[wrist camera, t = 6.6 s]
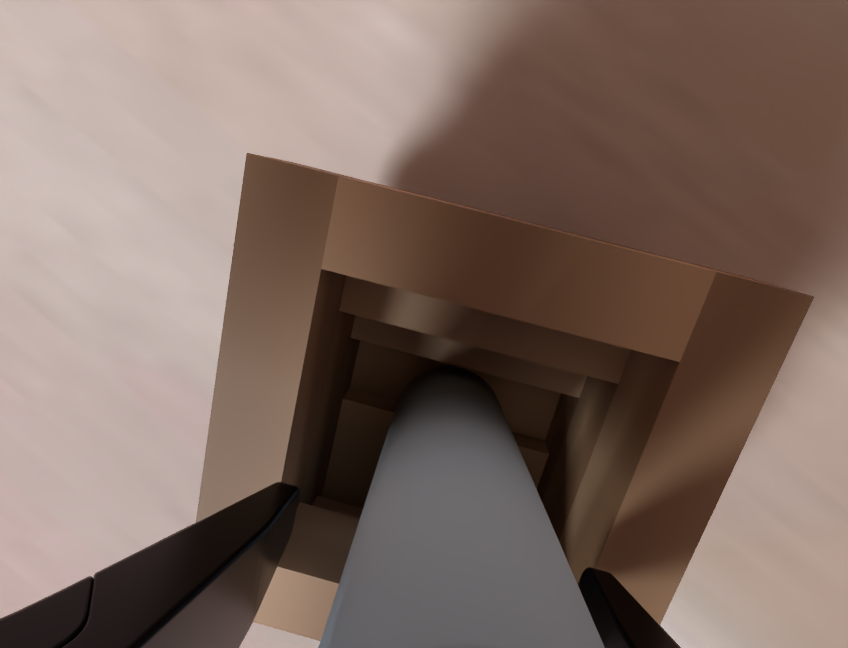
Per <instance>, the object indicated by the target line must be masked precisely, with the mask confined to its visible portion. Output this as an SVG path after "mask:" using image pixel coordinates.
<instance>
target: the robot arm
mask: <svg viewBox="0 0 848 648" xmlns="http://www.w3.org/2000/svg"><path fill="white" fill-rule="evenodd" d="M299 496H300V490H299V488H298V487H297V486H293V485H290V484H286V483H283V482H276V483H274V484H272V485H270V486H268V487H266V488H264V489H262V490H260V491H258V492H256V493H254V494H252V495H250V496H248V497H246V498H244V499H242V500H240V501H238V502H236V503H234V504H232V505H230V506H228V507H226V508H224V509H222V510H220V511H218V512H216V513H214V514H212V515H210V516H208V517H206V518H204V519H202V520H200V521H198V522H196V523H194V524H192V525H190V526H188V527H186V528H184V529H182V530H180V531H178V532H176V533H174V534H172V535H170V536H168V537H166V538H164V539H162V540H160V541H159V542H157V543H155V544H153V545H151V546H149V547H147V548H145V549H143V550H141V551H139V552H137V553H135V554H133V555H131V556H129V557H127V558H125V559H123V560H121V561H119V562H117V563H115V564H113V565H111V566H109V567H107V568H105V569H103V570H101V571H99V572H97V573H95V574H94V577H91V576H89V577H87V578H85V579H83V580H81V581H79V582H77V583H75V584H73V585H71V586H69V587H67V588H65V589H63V590H61V591H59V592H56V593H54V594H52V595H50V596H48V597H46V598H44V599H42V600H40V601H38V602H36V603H33V604H31V605H29V606H27V607H25V608H23V609H21V610H19V611H17V612H14V613H12V614H10V615H7V616H5V617H3V618H1V619H0V648H239V646H240V645H241V643H242V641H243V639H244V638H245V636H246V634H247V632H248V630H249V628H250V626H251V624H252V623H253V620H254V618H255V616H256V614H257V612H258V610H259V608H260V605H261V603H262V601H263V598H264V596H265V594H266V591H267V589H268V587H269V585H270V582H271V580H272V578H273V575H274V573H275V571H276V569H277V566H278V564H279V562H280V559H281V557H282V555H283V552H284V550H285V548H286V546H287V543H288V541H289V539H290V536H291V533H292V529H293V526H294V521H295V516H296V511H297V506H298V501H299ZM578 587H579V589H580V591H581V594H582V596H583V598H584V601H585V603H586V605H587V608H588V610H589V612H590V615H591V617H592V619H593V622H594V624H595V626H596V628H597V631H598V633H599V635H600V638H601V640H602V642H603V645H604V647H605V648H681V647H680V646H679V645H678V644H677V643H676V642H675V641H674V640H673V639H672V638H671V637H670V636H669V635H668V634H667V632H666V631H665V630H664V629H663V628H662V627H661V626H660V625H659V624H658V623H657V622H656V621H655V620H654V619H653V617H652V616H651V615H650V614H649V613H648V612H647V611H646V610H645V609H644V608H643V607H642V606H641V605H640V604H639V603H638V601H637V600H636V599H635V598H634V597H633V596H632V595H631V594H630V593H629V592H628V591H627V590H626V589H625V588H624V586H623V585H622V584H621V583H620V582H619V581H618V580H617V579H616V578H615V577H614V576H613V575H612V574H611V573H609V572H606V571H603V570H599V569H595V568H592V567H588V568H586V569H585V570H584V571H583V573H582V575H581V578H580V580H579V583H578Z"/></svg>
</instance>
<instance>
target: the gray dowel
mask: <svg viewBox="0 0 848 648" xmlns="http://www.w3.org/2000/svg"><path fill="white" fill-rule="evenodd" d="M319 648H605V647H604V645H603V642H602V640H601V638H600V635H599V633H598V631H597V628H596V626H595V624H594V622H593V619H592V617H591V615H590V612H589V610H588V608H587V605H586V603H585V601H584V598H583V596H582V594H581V591H580V589H579V587H578V584H577V582H576V580H575V577H574V575H573V573H572V570H571V568H570V566H569V564H568V561H567V559H566V557H565V554H564V552H563V550H562V547H561V545H560V543H559V540H558V538H557V536H556V533H555V531H554V529H553V526H552V524H551V522H550V519H549V517H548V515H547V512H546V510H545V508H544V506H543V503H542V501H541V499H540V496H539V494H538V492H537V489H536V487H535V485H534V482H533V480H532V478H531V475H530V473H529V471H528V468H527V466H526V464H525V461H524V459H523V457H522V454H521V452H520V450H519V448H518V445H517V443H516V441H515V438H514V436H513V434H512V431H511V429H510V427H509V424H508V422H507V420H506V417H505V415H504V413H503V410H502V408H501V406H500V403H499V401H498V399H497V397H496V395H495V393H494V391H493V390H492V389H491V387H490V386H489V385H488V384H487V383H486V382H485V381H484V380H483V379H482V378H480V377H479V376H477V375H476V374H474V373H472V372H470V371H468V370H465V369H461V368H456V367H440V368H435V369H431V370H428V371H426V372H424V373H422V374H420V375H418V376H417V377H415V378H414V379H413V380H412V381H411V382H410V383H409V384H408V385H407V386H406V387H405V389H404V390H403V392H402V393H401V395H400V397H399V399H398V402H397V405H396V408H395V411H394V414H393V417H392V420H391V424H390V427H389V430H388V433H387V436H386V439H385V442H384V445H383V449H382V452H381V455H380V458H379V461H378V464H377V467H376V470H375V473H374V477H373V480H372V483H371V486H370V489H369V492H368V495H367V498H366V501H365V505H364V508H363V511H362V514H361V517H360V520H359V523H358V526H357V530H356V533H355V536H354V539H353V542H352V545H351V548H350V551H349V554H348V558H347V561H346V564H345V567H344V570H343V573H342V576H341V579H340V583H339V586H338V589H337V592H336V595H335V598H334V601H333V604H332V607H331V611H330V614H329V617H328V620H327V623H326V626H325V629H324V632H323V635H322V639H321V642H320V645H319Z"/></svg>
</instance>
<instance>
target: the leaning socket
mask: <svg viewBox="0 0 848 648" xmlns="http://www.w3.org/2000/svg"><path fill="white" fill-rule="evenodd" d="M813 298H814V297H813V296H809V295H806V294H802V293H799V292H795V291H792V290H788V289H785V288H781V287H778V286H774V285H771V284H767V283H764V282H760V281H757V280H753V279H750V278H746V277H742V276H738V275H735V274H731V273H727V272H723V271H719V270H715V269H711V268H707V267H703V266H699V265H695V264H691V263H687V262H683V261H679V260H675V259H671V258H668V257H664V256H660V255H656V254H652V253H648V252H644V251H640V250H636V249H632V248H628V247H624V246H620V245H616V244H612V243H608V242H604V241H600V240H597V239H593V238H589V237H585V236H581V235H577V234H573V233H569V232H565V231H561V230H557V229H553V228H549V227H545V226H541V225H537V224H533V223H530V222H526V221H522V220H518V219H514V218H510V217H506V216H502V215H498V214H494V213H490V212H486V211H482V210H478V209H474V208H470V207H466V206H462V205H459V204H455V203H451V202H447V201H443V200H439V199H435V198H431V197H427V196H423V195H419V194H415V193H411V192H407V191H403V190H399V189H395V188H392V187H388V186H384V185H380V184H376V183H372V182H368V181H364V180H360V179H356V178H352V177H348V176H344V175H340V174H336V173H332V172H328V171H324V170H321V169H317V168H313V167H309V166H305V165H301V164H297V163H293V162H288V161H283V160H279V159H274V158H269V157H264V156H259V155H254V154H249V153H247V155H246V163H245V170H244V177H243V184H242V192H241V199H240V206H239V213H238V221H237V228H236V235H235V242H234V250H233V257H232V264H231V272H230V279H229V286H228V293H227V301H226V308H225V315H224V322H223V330H222V337H221V344H220V351H219V359H218V366H217V373H216V380H215V388H214V395H213V402H212V410H211V417H210V424H209V431H208V439H207V446H206V453H205V460H204V468H203V475H202V482H201V489H200V497H199V504H198V511H197V518H196V522H198V521H200V520H202V519H204V518H206V517H208V516H210V515H212V514H214V513H216V512H218V511H220V510H222V509H224V508H226V507H228V506H230V505H232V504H234V503H236V502H238V501H240V500H242V499H244V498H246V497H248V496H250V495H252V494H254V493H256V492H258V491H260V490H262V489H264V488H266V487H268V486H270V485H272V484H274V483H276V482H283V483H286V484H290V485H293V486H297V487H298V488H299V490H300V496H299V501H298V506H297V511H296V516H295V521H294V526H293V529H292V533H291V536H290V539H289V541H288V543H287V546H286V548H285V550H284V552H283V555H282V557H281V559H280V562H279V564H278V566H277V569H276V571H275V573H274V575H273V578H272V580H271V582H270V585H269V587H268V589H267V591H266V594H265V596H264V598H263V601H262V603H261V605H260V608H259V610H258V612H257V614H256V616H255V618H254V620H253V622H255V623H259V624H262V625H266V626H269V627H273V628H276V629H280V630H283V631H287V632H290V633H294V634H297V635H301V636H304V637H308V638H311V639H315V640H319V641H321V639H322V635H323V632H324V629H325V626H326V623H327V620H328V617H329V614H330V611H331V607H332V604H333V601H334V598H335V595H336V592H337V589H338V586H339V583H340V579H341V576H342V573H343V570H344V567H345V564H346V561H347V558H348V554H349V551H350V548H351V545H352V542H353V539H354V536H355V533H356V530H357V526H358V523H359V520H360V517H361V514H362V511H363V508H364V505H365V501H366V498H367V495H368V492H369V489H370V486H371V483H372V480H373V477H374V473H375V470H376V467H377V464H378V461H379V458H380V455H381V452H382V449H383V445H384V442H385V439H386V436H387V433H388V430H389V427H390V424H391V420H392V417H393V414H394V411H395V408H396V405H397V402H398V399H399V397H400V395H401V393H402V392H403V390H404V389H405V387H406V386H407V385H408V384H409V383H410V382H411V381H412V380H413V379H414V378H415V377H417V376H418V375H420V374H422V373H424V372H426V371H428V370H431V369H435V368H440V367H456V368H461V369H465V370H468V371H470V372H472V373H474V374H476V375H477V376H479V377H480V378H482V379H483V380H484V381H485V382H486V383H487V384H488V385H489V386H490V387H491V389H492V390H493V391H494V393H495V395H496V397H497V399H498V401H499V403H500V406H501V408H502V410H503V413H504V415H505V417H506V420H507V422H508V424H509V427H510V429H511V431H512V434H513V436H514V438H515V441H516V443H517V445H518V448H519V450H520V452H521V454H522V457H523V459H524V461H525V464H526V466H527V468H528V471H529V473H530V475H531V478H532V480H533V482H534V485H535V487H536V489H537V492H538V494H539V496H540V499H541V501H542V503H543V506H544V508H545V510H546V512H547V515H548V517H549V519H550V522H551V524H552V526H553V529H554V531H555V533H556V536H557V538H558V540H559V543H560V545H561V547H562V550H563V552H564V554H565V557H566V559H567V561H568V564H569V566H570V568H571V570H572V573H573V575H574V577H575V580H576V582H577V584H578V583H579V580H580V578H581V575H582V573H583V571H584V570H585V569H586V568H588V567H592V568H595V569H599V570H603V571H606V572H609V573H611V574H612V575H613V576H614V577H615V578H616V579H617V580H618V581H619V582H620V583H621V584H622V585H623V586H624V588H625V589H626V590H627V591H628V592H629V593H630V594H631V595H632V596H633V597H634V598H635V599H636V600H637V601H638V603H639V604H640V605H641V606H642V607H643V608H644V609H645V610H646V611H647V612H648V613H649V614H650V615H651V616H652V617H653V619H654V620H655V621H656V622H657V623H658V624H659V625H660V624H661V621H662V619H663V617H664V615H665V613H666V611H667V609H668V606H669V604H670V602H671V600H672V598H673V596H674V594H675V592H676V589H677V587H678V585H679V583H680V581H681V579H682V577H683V575H684V572H685V570H686V568H687V566H688V564H689V562H690V560H691V558H692V555H693V553H694V551H695V549H696V547H697V545H698V543H699V541H700V538H701V536H702V534H703V532H704V530H705V528H706V526H707V524H708V521H709V519H710V517H711V515H712V513H713V511H714V509H715V506H716V504H717V502H718V500H719V498H720V496H721V494H722V492H723V489H724V487H725V485H726V483H727V481H728V479H729V477H730V475H731V472H732V470H733V468H734V466H735V464H736V462H737V460H738V458H739V455H740V453H741V451H742V449H743V447H744V445H745V443H746V441H747V438H748V436H749V434H750V432H751V430H752V428H753V426H754V424H755V421H756V419H757V417H758V415H759V413H760V411H761V409H762V406H763V404H764V402H765V400H766V398H767V396H768V394H769V392H770V389H771V387H772V385H773V383H774V381H775V379H776V377H777V375H778V372H779V370H780V368H781V366H782V364H783V362H784V360H785V358H786V355H787V353H788V351H789V349H790V347H791V345H792V343H793V341H794V338H795V336H796V334H797V332H798V330H799V328H800V326H801V323H802V321H803V319H804V317H805V315H806V313H807V311H808V309H809V306H810V304H811V302H812V300H813Z"/></svg>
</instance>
